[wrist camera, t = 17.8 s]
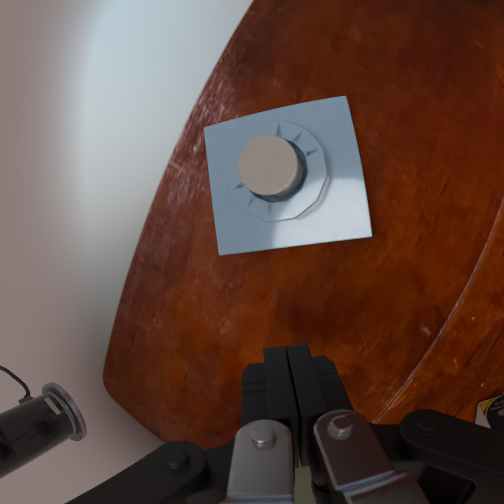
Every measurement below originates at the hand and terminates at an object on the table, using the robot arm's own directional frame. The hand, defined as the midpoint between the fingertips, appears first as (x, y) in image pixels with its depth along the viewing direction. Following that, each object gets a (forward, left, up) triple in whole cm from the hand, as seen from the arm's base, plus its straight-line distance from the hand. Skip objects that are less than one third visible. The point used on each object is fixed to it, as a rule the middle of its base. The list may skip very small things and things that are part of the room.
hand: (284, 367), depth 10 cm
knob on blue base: (-2, +9, -14) cm, 17 cm away
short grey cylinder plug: (-2, +9, -9) cm, 13 cm away
